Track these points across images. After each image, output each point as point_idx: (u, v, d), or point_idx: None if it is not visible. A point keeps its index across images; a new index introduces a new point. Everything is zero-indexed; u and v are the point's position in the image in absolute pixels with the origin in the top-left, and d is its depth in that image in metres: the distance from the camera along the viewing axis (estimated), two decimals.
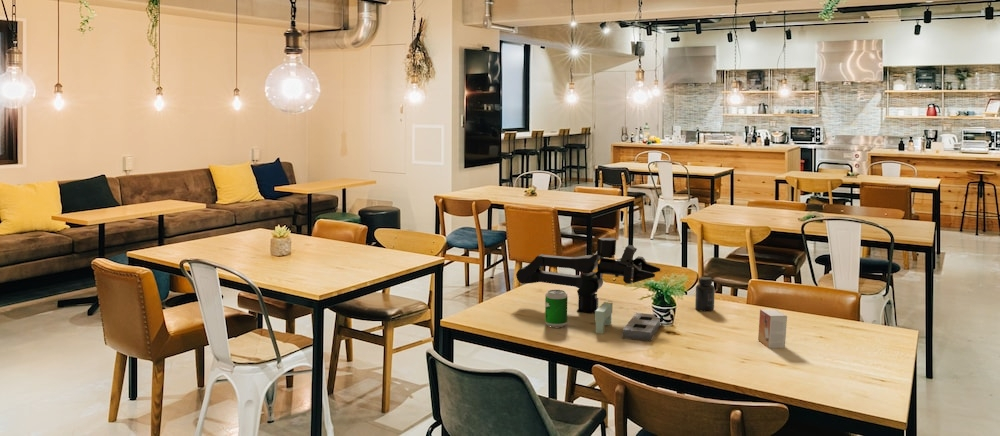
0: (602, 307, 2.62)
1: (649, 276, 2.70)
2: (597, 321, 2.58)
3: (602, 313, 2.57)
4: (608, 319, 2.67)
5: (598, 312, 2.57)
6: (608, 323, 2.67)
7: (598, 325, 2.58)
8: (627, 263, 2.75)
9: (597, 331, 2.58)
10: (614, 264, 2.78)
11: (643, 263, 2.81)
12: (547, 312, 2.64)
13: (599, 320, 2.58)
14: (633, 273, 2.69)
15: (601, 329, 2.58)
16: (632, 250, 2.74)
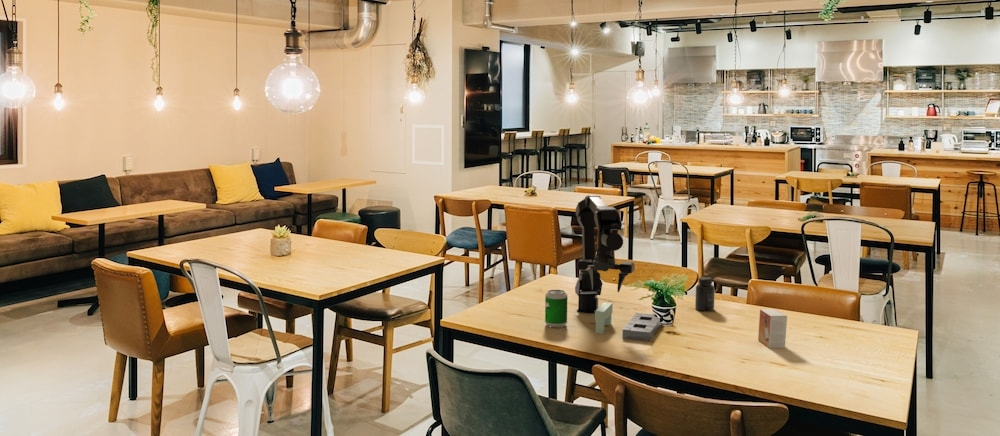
0: (602, 307, 2.62)
1: None
2: (597, 321, 2.58)
3: (602, 313, 2.57)
4: (608, 319, 2.67)
5: (598, 312, 2.57)
6: (608, 323, 2.67)
7: (598, 325, 2.58)
8: None
9: (597, 331, 2.58)
10: (598, 247, 2.59)
11: None
12: (547, 312, 2.64)
13: (599, 320, 2.58)
14: None
15: (601, 329, 2.58)
16: (594, 268, 2.55)
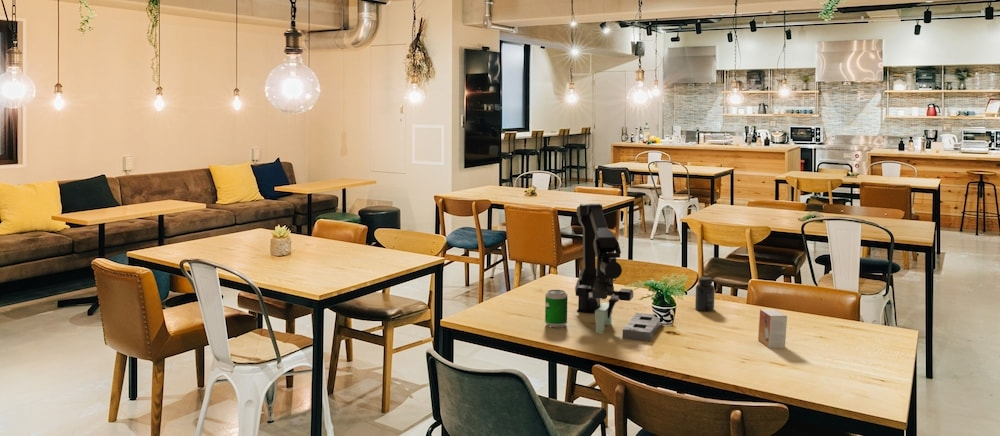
0: (602, 307, 2.62)
1: None
2: (597, 321, 2.58)
3: (602, 313, 2.57)
4: (608, 319, 2.67)
5: (598, 312, 2.57)
6: (608, 323, 2.67)
7: (598, 325, 2.58)
8: None
9: (597, 331, 2.58)
10: (597, 274, 2.61)
11: None
12: (547, 312, 2.64)
13: (599, 320, 2.58)
14: None
15: (601, 329, 2.58)
16: (593, 296, 2.56)
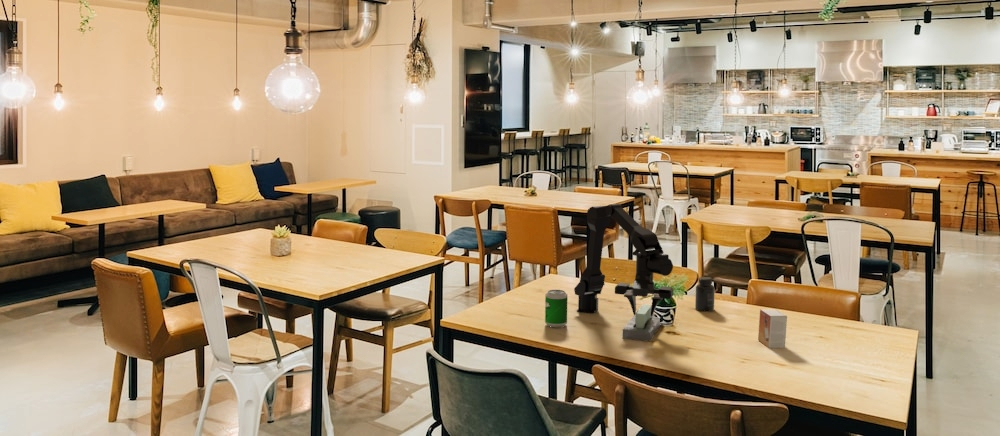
0: (642, 309, 2.59)
1: None
2: (637, 324, 2.55)
3: (643, 316, 2.54)
4: None
5: (639, 314, 2.54)
6: None
7: (638, 327, 2.55)
8: None
9: None
10: (636, 272, 2.58)
11: None
12: (547, 312, 2.64)
13: (639, 323, 2.55)
14: None
15: None
16: (633, 293, 2.53)
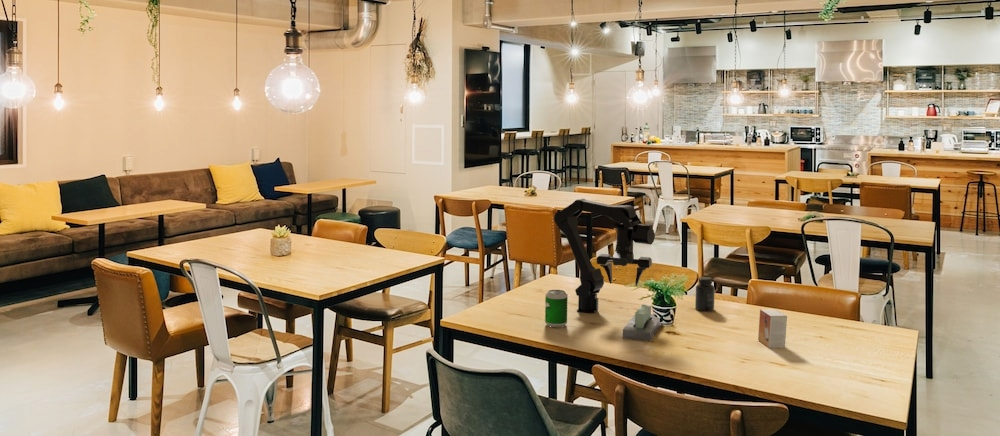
0: (641, 309, 2.59)
1: None
2: (637, 324, 2.55)
3: (642, 316, 2.54)
4: None
5: (638, 315, 2.54)
6: None
7: (638, 327, 2.55)
8: None
9: None
10: (617, 243, 2.73)
11: None
12: (547, 312, 2.64)
13: (639, 323, 2.55)
14: None
15: None
16: (613, 263, 2.68)
